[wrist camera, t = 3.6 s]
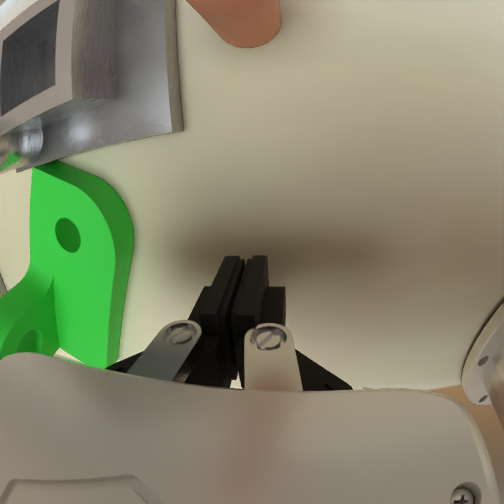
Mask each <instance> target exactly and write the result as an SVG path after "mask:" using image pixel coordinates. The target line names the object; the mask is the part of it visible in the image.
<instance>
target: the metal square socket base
mask: <svg viewBox="0 0 504 504" xmlns="http://www.w3.org/2000/svg"><path fill="white" fill-rule="evenodd" d="M179 131H183V121H182V110H181V98H180V86H179V72H178V56H177V37H176V10H175V0H38V1H37V2H35V3H34V4H32V5H31V6H30V7H28V8H27V9H26V10H25V11H23V12H22V13H21V14H20V15H18V16H17V17H16V18H15V19H13V20H12V21H11V22H10V23H9V24H8V25H6V26H5V27H4V28H3V29H2V30H1V31H0V174H2V173H5V172H8V171H11V170H14V169H16V172H17V173H18V172H21V171H24V170H27V169H30V168H33V167H35V166H38V165H41V164H45V163H48V162H51V161H54V160H57V159H60V158H64V157H67V156H70V155H74V154H77V153H81V152H85V151H88V150H92V149H96V148H100V147H104V146H108V145H112V144H116V143H121V142H125V141H130V140H135V139H140V138H145V137H150V136H155V135H161V134H167V133H173V132H179Z"/></svg>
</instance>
